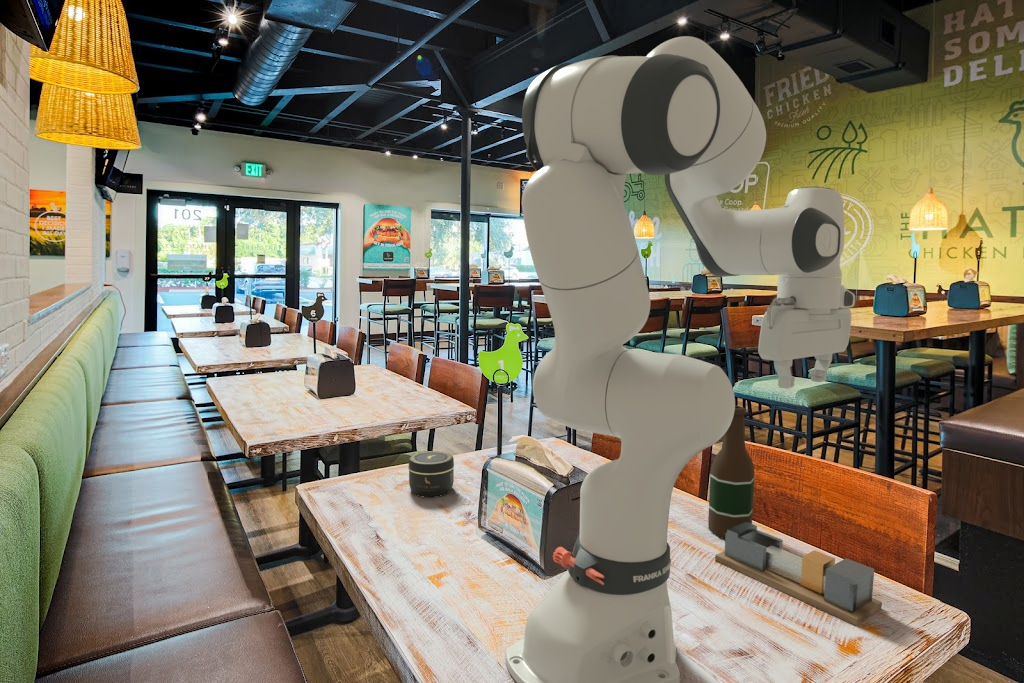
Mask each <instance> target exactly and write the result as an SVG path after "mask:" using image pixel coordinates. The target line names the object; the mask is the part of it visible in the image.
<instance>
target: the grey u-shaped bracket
mask: <svg viewBox="0 0 1024 683" xmlns="http://www.w3.org/2000/svg"><path fill="white" fill-rule="evenodd" d="M724 539H725V540H724V551H725V556H727V557H729V558H731V559H734V560H736V561H738V562H740V563H743V564H745V565H747V566H749V567H751V568H754V569H756V570H758V571H760V572H764V571H765V565H766V548H768V547H770V546H775V547H777V548H780V549H782V550H783V542H784V541H783V539H781V538H778V537H777V536H774V535H772V534H768V533H765V532H763V531H762V530H758V525H757V524H756V525H755V524H753V523H752V524H751V523H748V522H745V523H742V524H740V525H737V526H735V527H732V528H730V529H727V532H726V535H725V538H724Z"/></svg>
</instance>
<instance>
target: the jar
mask: <svg viewBox="0 0 1024 683" xmlns="http://www.w3.org/2000/svg"><path fill="white" fill-rule="evenodd" d="M454 460H455V459H454V456H453V455H452V454H450V453H449V452H446V451H440V450H430V451H427V450H426V451H422V452H421V451H420V452H417V453H414V454H412V455H411V456H410V457H409V458H408V467H407V468H408V478H409V479H408V483H409V484H408V485H409V487H410V491H411V493H413V495H415V494H416V495H415V496H417V495H419V496H418V497H420V496H424V497H423V498H436V497H435V496H439V497H441V496H440V495H443V496H445V495H444V494H446V495H448V494H449V493H450V492H451V491H452V490H453V486H454V480H455V476H454V475H455V474H454V468H455V461H454ZM449 491H450V492H449ZM448 492H449V493H448ZM447 493H448V494H447Z"/></svg>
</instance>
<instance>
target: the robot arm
mask: <svg viewBox="0 0 1024 683" xmlns="http://www.w3.org/2000/svg"><path fill="white" fill-rule="evenodd" d="M522 103H523V105H522V110H521V112H522V113H521V121H522V124H521V125H522V133H523V137H524V142H525V144H526V148H525V150H526V158H527V159H528V161H529V163H530V165H531V167H532V168H533V169H534V170H535V171H536V172H535V173H534V174H533V175H532V176H531V177H530V178H529V179H528V181H527V182H526V184H525V186H524V188H523V191H522V196H521V208H522V217H523V223H524V230H525V234H526V238H527V242H528V248H529V252H530V255H531V259H532V263H533V265H534V270H535V272H536V275H537V278H538V281H539V284H540V287H541V290H542V292H543V296H544V298H545V299H544V300H545V302H546V304H547V307H548V311H549V315H550V318H551V322H552V324H553V329H554V330H553V331H554V344H553V347H552V349H551V350H550V351H548V352H547V353H546V354H545V355H544V356H543V357H542V358H541V359H540V361H539V363H538V364H537V366H536V369H535V371H534V374H533V379H532V396H533V400H534V403H535V404H536V407H537V409H538V411H539V413H540V414H541V415H542V416H544V417H545V418H547V419H550V420H551V421H554V422H556V423H558V424H560V425H563V426H566V427H568V428H570V429H572V430H577V431H582V432H589V433H594V434H598V435H604V436H609V437H615V438H617V439H620V441H621V443H620V444H621V449H620V455H619V458H617V459H615V460H614V459H613V460H610V461H608V462H605V463H603V464H601V465H598V466H596V467H595V468H593V469H592V470H590V471H589V472H588V474H587V475H586V476H585V477H584V479H583V481H582V483H581V486H580V490H579V491H580V492H579V493H580V496H579V497H580V498H579V499H580V500H579V534H578V536H577V538H576V541H575V544H574V546H573V549H572V552H571V551H568V550H567V549H565V548H564V547H562V546H558V547H557V548H555V550H554V552H553V554H552V560H553V561H554V563H557V564H558V565H561V566H562V567H563V568H565V569H566V568H567V570H566V572H565V573H564V574H563V575H562V576H561V577H560V578H559V579H558V581H557V582H556V583H555V584H554V585H553V586H552V587H551V588H550V589H549V591H548V592H547V593H546V594H545V595H544V597H542V599H541V600H540V601H539V602H538V603H537V604H535V606H534V607H533V608H532V609H531V610H530V612H529V614H528V617H527V620H526V624H525V628H524V629H525V630H524V636H523V637H521V639H519V640H517V641H515V642H514V643H513V644H512V643H511V645H510V646H508V647H507V648H506V649H505V650H506V651H505V656H504V657H505V658H504V659H505V664H506V665H505V666H506V669H507V670H508V672H509V674H510V676H511V677H512V678H513V680H514V681H515V682H516V683H680V682H681V676H680V675H681V673H680V670H679V666H678V665H677V661H676V660H677V654H678V653H677V647H676V644H675V641H674V628H673V627H674V626H673V615H672V614H673V613H672V606H671V602H670V597H669V590H668V583H667V582H668V581H667V580H668V579H669V577H670V576H671V567H672V566H671V565H672V558H671V547H670V544H669V542H668V532H669V520H670V508H671V507H670V506H671V499H672V494H673V490H674V487H675V484H676V481H677V479H678V477H679V475H680V473H681V472H682V471H683V468H685V466H686V465H688V463H689V462H690V461H691V460H692V459H693V458H694V457H695V456H697V455H698V454H700V453H701V452H703V450H706V449H707V448H708V449H709V448H710V447H712V446H713V445H715V444H716V443H717V442H718V441H719V440H721V439H722V438H723V437H724V434H725V433H726V431H727V430H728V428H729V426H730V424H731V422H732V419H733V416H734V411H735V406H736V398H735V392H734V388H733V386H732V383H731V381H730V378H729V377H728V376H727V374H726V373H725V371H724V370H723V368H721V367H720V366H719V365H716V364H714V363H713V364H712V363H710V362H706V361H704V360H701V359H697V358H694V357H691V356H690V357H689V356H687V355H683V354H678V353H677V354H676V353H675V354H674V353H665V352H655V351H654V352H653V351H644V350H643V351H641V350H634V349H630V348H626V347H625V346H624V344H627V343H628V342H629V341H630V340H631V339H633V338H634V337H635V336H636V335H637V334H639V332H640V331H641V330H642V329H643V328H644V326H645V325H646V323H647V321H648V318H649V315H650V311H651V297H650V293H649V289H648V288H649V287H648V285H647V280H646V276H645V272H644V269H643V264H642V260H641V256H640V253H639V252H640V251H639V247H638V244H637V240H636V237H635V233H634V230H633V227H632V224H631V221H630V217H629V214H628V212H627V210H626V208H625V202H624V201H625V200H624V199H625V197H624V195H625V187H626V180H627V175H629V174H630V175H633V174H634V175H635V174H647V175H650V176H664V184H665V188H666V191H667V194H668V196H669V199H670V201H671V202H672V204H673V207H675V208H674V209H675V210H676V212H677V214H678V215H679V217H680V219H681V221H682V222H683V224H684V226H685V227H686V229H687V230H688V233H689V234H690V236H691V238H692V240H693V242H694V243H695V247H696V251H697V255H698V258H699V260H700V262H701V264H702V265H703V266H704V267H705V269H706V270H707V271H709V273H710V274H712V275H713V276H715V277H718V278H723V277H736V276H777V289H776V290H777V291H776V297H775V298H774V299H772V301H771V302H770V304H769V305H768V306H767V309H766V311H765V313H764V314H763V317H762V320H761V324H760V325H761V326H760V333H759V338H758V339H759V340H758V346H757V347H758V350H757V352H758V354H759V356H760V358H761V359H762V360H767V361H773V365H774V366H773V367H774V369H775V371H776V374H777V376H778V377H777V378H778V379H777V386H778V388H780V389H786V390H787V389H792V388H794V386H795V376H793V374H792V370H791V367H793V360H797V359H803V358H804V359H805V358H811V357H814V359H815V360H816V361H815V363H814V368H813V369H812V370H811V371H810V374H811V375H810V379H811V382H815V383H824V382H826V381H827V375H828V374H827V373H828V371H829V368H830V366H831V363H832V361H833V354H837V353H844V352H845V351H846V349H847V347H848V345H849V343H850V342H849V341H850V337H851V336H850V335H851V328H852V311H851V309H850V308H853V307H854V306H855V304H856V295H855V293H853V292H852V291H850V290H849V289H848V288H846V287H845V286H844V284H842V281H843V280H842V279H843V278H842V277H843V276H842V275H843V274H842V269H841V265H840V264H841V263H840V262H841V257H842V253H843V252H844V248H845V231H846V230H845V211H844V210H845V209H844V201H843V196H842V194H841V193H840V192H839V191H838V190H835V189H833V188H831V187H824V186H822V187H821V186H803V187H798V188H795V189H793V190H791V191H790V192H788V194H787V197H786V200H785V204H784V205H782V206H781V207H775V208H764V209H762V208H761V209H750V210H749V209H748V210H734V209H733V210H732V209H727V208H724V207H722V206H721V203H720V201H719V199H718V196H720V195H723V194H726V193H728V192H730V191H732V190H733V189H735V188H737V187H738V186H739V185H740V184H742V183H743V182H744V181H746V180H747V178H748V177H749V176H750V175H751V174H752V173H753V171H754V170H755V169H756V167H757V166H758V165H759V163H760V161H761V159H762V156H763V153H764V151H765V147H766V142H767V130H766V125H765V120H764V119H763V115H762V114H761V112H760V109H759V108H758V106H757V104H756V103H755V101H754V99H753V98H752V96H751V94H750V93H749V91H748V89H747V88H746V87H745V85H744V83H743V82H742V80H741V79H740V78H739V76H738V75H737V74H736V73H735V71H734V70H733V69H732V67H731V66H730V65H729V64H728V63H727V62H726V61H725V60H724V59H723V57H721V56H720V54H719V53H717V52H716V51H715V49H713V48H712V47H711V45H709V44H708V43H707V42H705V41H704V40H702V39H701V38H698V37H695V36H688V35H687V36H686V35H685V36H678V37H674V38H670V39H668V40H665V41H664V42H662V43H660V44H659V45H657V46H656V47H655V48H653V49H652V50H651V51H650V52H648V53H647V55H646V56H642V55H639V56H638V55H635V56H633V55H632V56H631V55H629V56H620V55H619V56H618V55H605V56H599V57H592V58H589V59H583V60H582V61H581V60H580V61H577V62H564V63H561V64H558V65H555V66H553V67H551V68H549V69H547V70H546V71H543V72H542V73H541V74H539V75H538V76H536V78H535V79H534V80H533V81H532V82H531V83H530V85H529V86H528V88H527V90H526V92H525V95H524V99H523V102H522ZM535 162H536V163H535Z"/></svg>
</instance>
